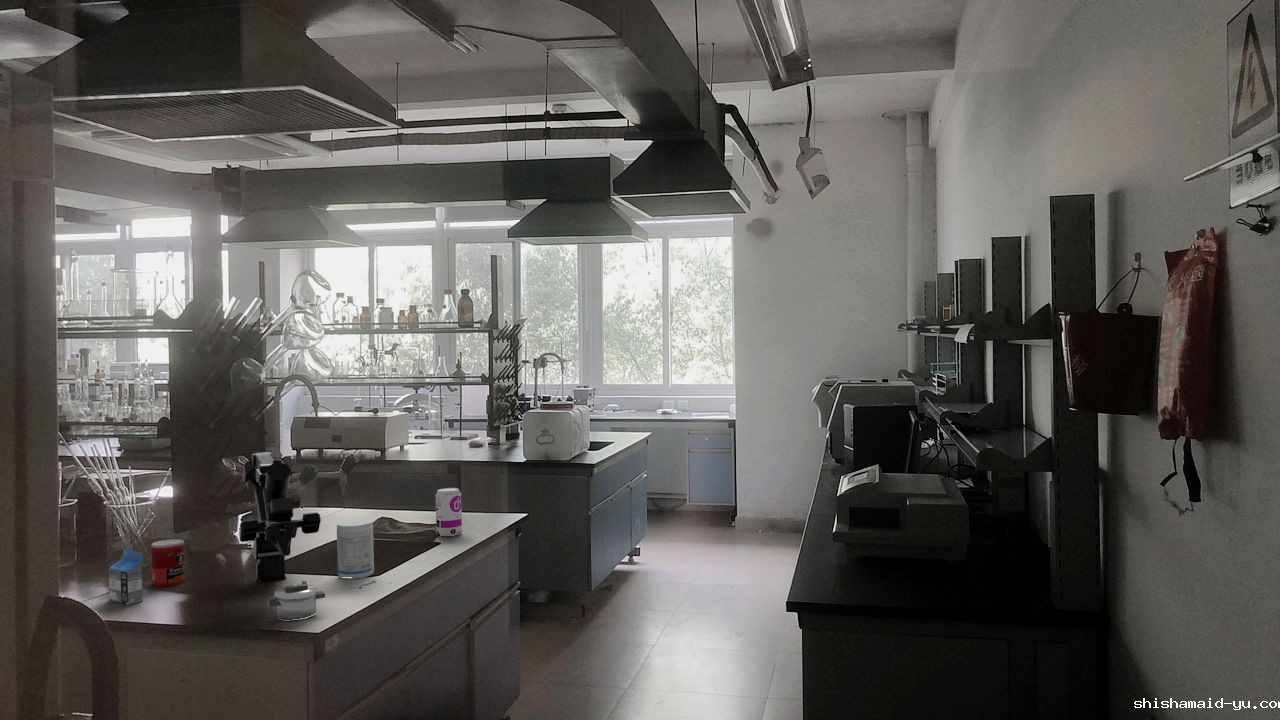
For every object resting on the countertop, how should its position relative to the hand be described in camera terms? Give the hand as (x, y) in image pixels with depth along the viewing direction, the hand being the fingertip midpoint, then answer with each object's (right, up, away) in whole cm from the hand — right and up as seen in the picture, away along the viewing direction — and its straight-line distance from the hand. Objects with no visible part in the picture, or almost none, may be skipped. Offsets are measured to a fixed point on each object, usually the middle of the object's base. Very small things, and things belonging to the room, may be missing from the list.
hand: (285, 554), depth 211 cm
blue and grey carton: (-41, -12, +2) cm, 43 cm away
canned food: (-39, -12, +19) cm, 45 cm away
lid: (+8, -6, -13) cm, 16 cm away
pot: (+8, -11, -13) cm, 19 cm away
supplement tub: (+10, -11, +22) cm, 27 cm away
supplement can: (+25, -10, +71) cm, 76 cm away
